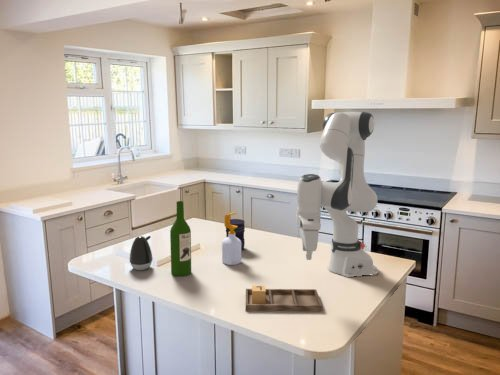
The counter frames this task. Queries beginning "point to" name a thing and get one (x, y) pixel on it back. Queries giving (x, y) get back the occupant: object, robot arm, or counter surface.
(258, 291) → the letter cube
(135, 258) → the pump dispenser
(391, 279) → the counter surface
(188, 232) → the wine bottle
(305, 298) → the organiser
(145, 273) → the counter surface
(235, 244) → the soap bottle
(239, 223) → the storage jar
